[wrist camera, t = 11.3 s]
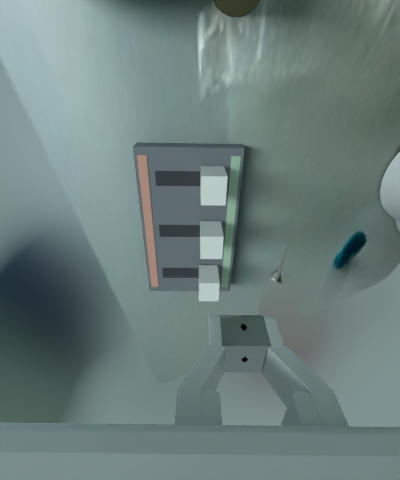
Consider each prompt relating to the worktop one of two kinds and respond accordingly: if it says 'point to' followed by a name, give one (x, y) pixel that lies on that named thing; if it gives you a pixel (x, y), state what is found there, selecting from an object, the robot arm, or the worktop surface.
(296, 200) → the worktop surface
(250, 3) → the cork
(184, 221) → the switch board
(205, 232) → the switch
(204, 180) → the switch
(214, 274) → the switch
